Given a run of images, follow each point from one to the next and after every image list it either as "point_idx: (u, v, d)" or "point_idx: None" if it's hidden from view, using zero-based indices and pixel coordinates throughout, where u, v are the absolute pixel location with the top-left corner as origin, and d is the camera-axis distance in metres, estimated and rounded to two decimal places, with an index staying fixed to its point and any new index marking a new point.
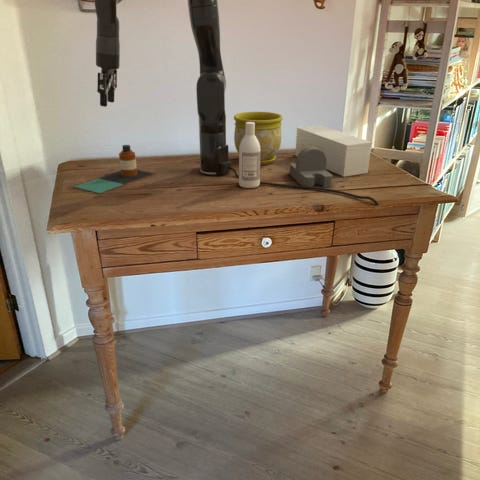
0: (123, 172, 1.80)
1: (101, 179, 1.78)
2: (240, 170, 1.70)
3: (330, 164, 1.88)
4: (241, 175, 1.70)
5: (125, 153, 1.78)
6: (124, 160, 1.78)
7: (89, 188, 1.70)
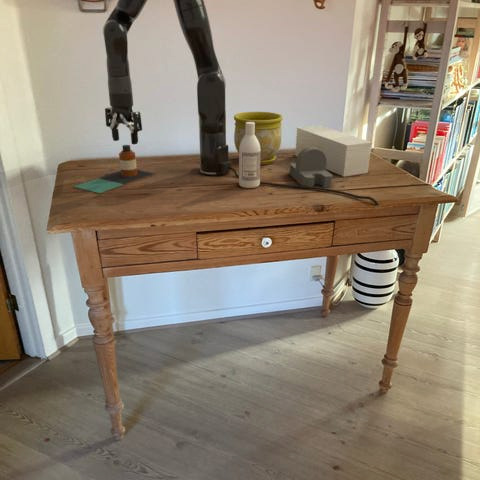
0: (123, 172, 1.80)
1: (101, 179, 1.78)
2: (240, 170, 1.70)
3: (330, 164, 1.88)
4: (241, 175, 1.70)
5: (125, 153, 1.78)
6: (124, 160, 1.78)
7: (89, 188, 1.70)
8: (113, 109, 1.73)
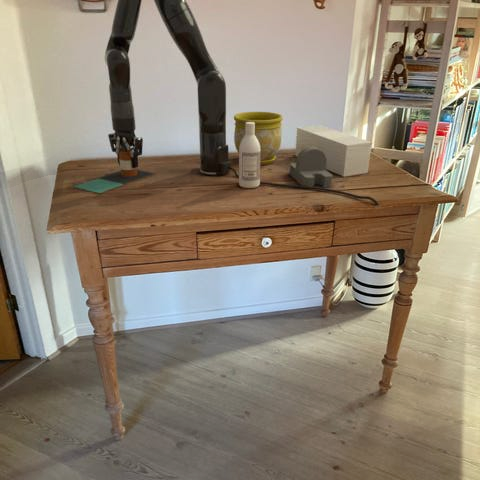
0: (123, 172, 1.80)
1: (101, 179, 1.78)
2: (240, 170, 1.70)
3: (330, 164, 1.88)
4: (241, 175, 1.70)
5: (125, 153, 1.78)
6: (124, 160, 1.78)
7: (89, 188, 1.70)
8: (116, 133, 1.76)
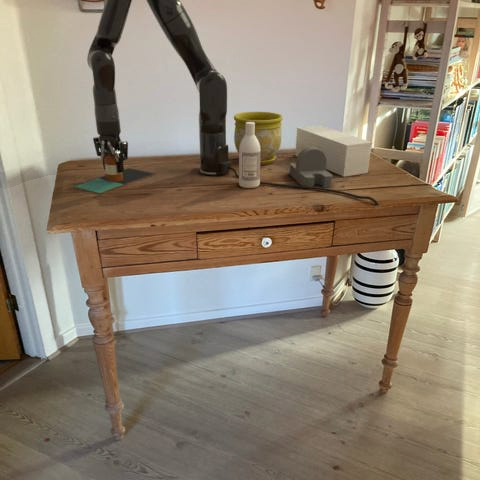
0: (109, 176, 1.75)
1: (101, 179, 1.78)
2: (240, 170, 1.70)
3: (330, 164, 1.88)
4: (241, 175, 1.70)
5: (110, 157, 1.73)
6: (109, 165, 1.73)
7: (89, 188, 1.70)
8: (101, 136, 1.72)
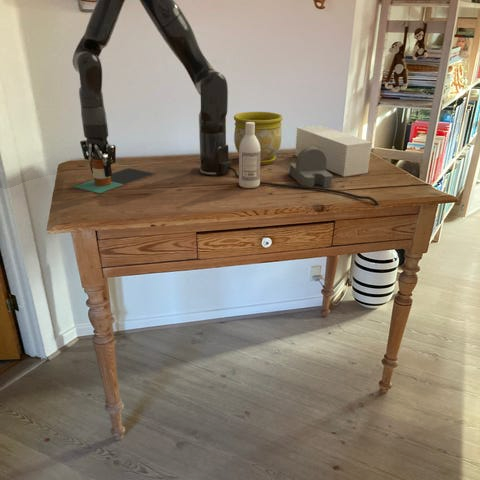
0: (96, 180, 1.71)
1: None
2: (240, 170, 1.70)
3: (330, 164, 1.88)
4: (241, 175, 1.70)
5: (98, 161, 1.69)
6: (97, 169, 1.69)
7: (89, 188, 1.70)
8: (88, 140, 1.68)
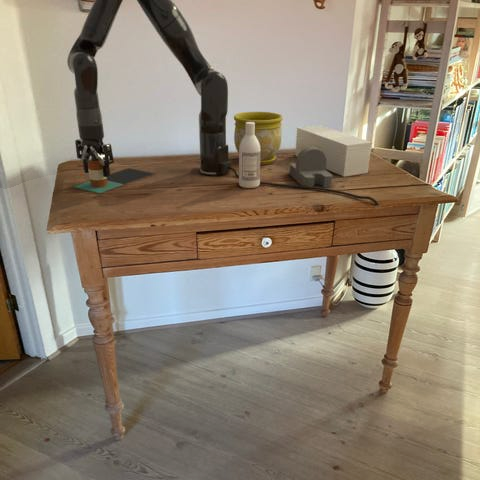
0: (92, 182, 1.70)
1: None
2: (240, 170, 1.70)
3: (330, 164, 1.88)
4: (241, 175, 1.70)
5: (94, 162, 1.67)
6: (93, 170, 1.68)
7: (89, 188, 1.70)
8: (83, 141, 1.66)
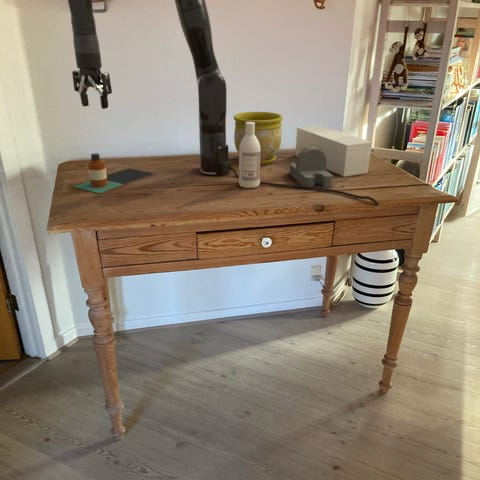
0: (92, 182, 1.70)
1: None
2: (240, 170, 1.70)
3: (330, 164, 1.88)
4: (241, 175, 1.70)
5: (94, 162, 1.67)
6: (93, 170, 1.68)
7: (89, 188, 1.70)
8: (81, 71, 1.64)
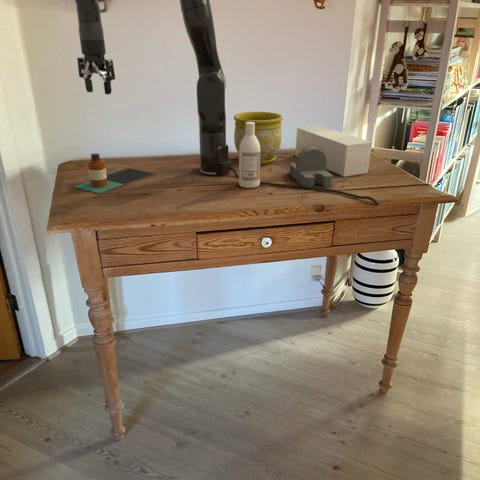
0: (92, 182, 1.70)
1: None
2: (240, 170, 1.70)
3: (330, 164, 1.88)
4: (241, 175, 1.70)
5: (94, 162, 1.67)
6: (93, 170, 1.68)
7: (89, 188, 1.70)
8: (85, 58, 1.69)
